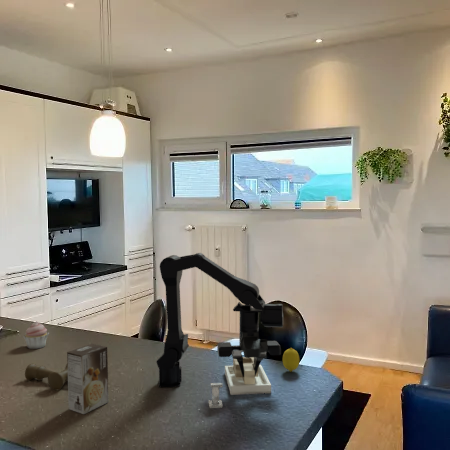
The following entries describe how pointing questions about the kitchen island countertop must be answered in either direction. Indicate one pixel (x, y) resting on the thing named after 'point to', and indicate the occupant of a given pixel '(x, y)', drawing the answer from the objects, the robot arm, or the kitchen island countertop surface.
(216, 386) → the t stake
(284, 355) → the lemon
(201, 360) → the kitchen island countertop surface
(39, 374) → the olive brown dumbbell-shaped piece
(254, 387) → the tray
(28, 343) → the cupcake
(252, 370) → the birch collar
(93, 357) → the food box
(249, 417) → the kitchen island countertop surface
